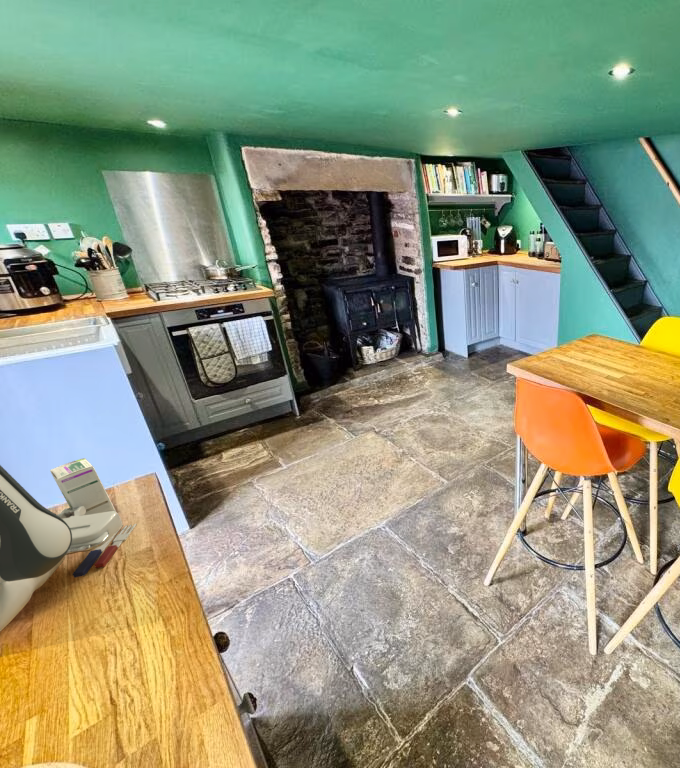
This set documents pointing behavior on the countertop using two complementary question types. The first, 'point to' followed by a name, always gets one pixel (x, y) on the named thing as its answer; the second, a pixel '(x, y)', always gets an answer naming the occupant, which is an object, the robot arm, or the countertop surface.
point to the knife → (91, 558)
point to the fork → (114, 546)
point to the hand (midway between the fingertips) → (76, 509)
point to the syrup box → (82, 487)
